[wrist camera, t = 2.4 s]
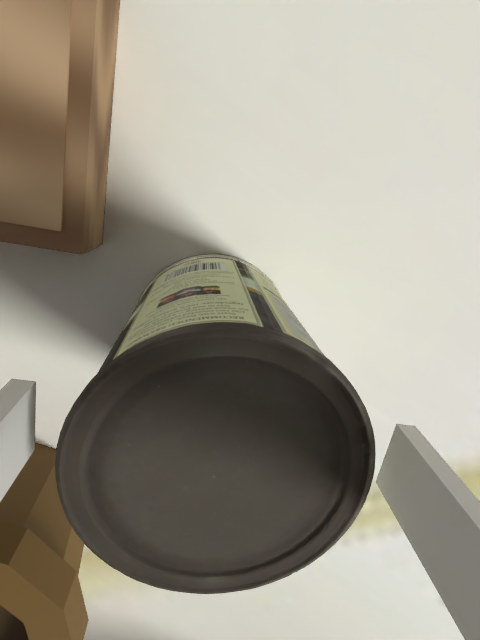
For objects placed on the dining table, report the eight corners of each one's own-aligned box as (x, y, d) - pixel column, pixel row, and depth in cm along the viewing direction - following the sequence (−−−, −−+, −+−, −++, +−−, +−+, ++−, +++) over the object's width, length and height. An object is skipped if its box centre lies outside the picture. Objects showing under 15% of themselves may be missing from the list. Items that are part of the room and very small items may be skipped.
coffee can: (202, 425, 28) (199, 638, 15) (100, 320, 25) (-23, 470, 12) (319, 340, 27) (432, 490, 13) (225, 218, 24) (251, 254, 10)
